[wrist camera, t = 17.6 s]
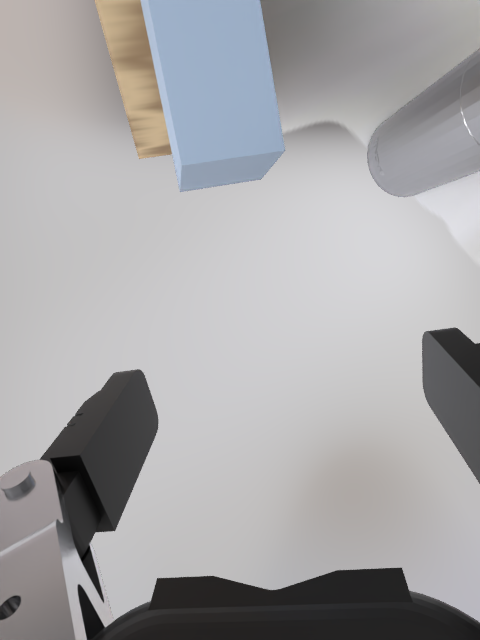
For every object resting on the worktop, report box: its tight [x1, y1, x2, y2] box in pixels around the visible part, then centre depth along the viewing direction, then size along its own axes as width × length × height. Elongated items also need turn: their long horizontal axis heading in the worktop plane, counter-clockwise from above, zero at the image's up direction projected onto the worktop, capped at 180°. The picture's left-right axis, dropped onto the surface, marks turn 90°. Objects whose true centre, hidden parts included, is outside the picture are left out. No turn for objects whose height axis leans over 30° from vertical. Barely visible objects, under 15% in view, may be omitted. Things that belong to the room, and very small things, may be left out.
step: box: [95, 0, 172, 159], centre depth 27 cm, size 8×14×23 cm, turn 11°
